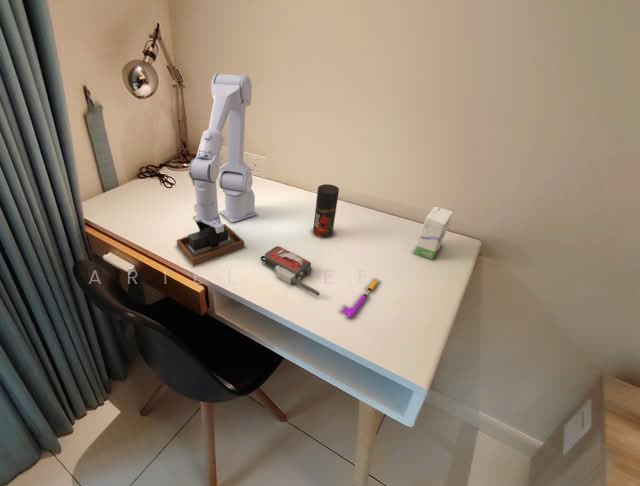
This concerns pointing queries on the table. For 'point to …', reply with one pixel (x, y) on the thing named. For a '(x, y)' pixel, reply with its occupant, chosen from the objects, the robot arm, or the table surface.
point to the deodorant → (325, 210)
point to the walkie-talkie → (288, 266)
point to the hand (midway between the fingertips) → (210, 241)
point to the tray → (213, 253)
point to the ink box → (433, 232)
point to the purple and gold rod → (352, 311)
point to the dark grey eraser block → (205, 241)
